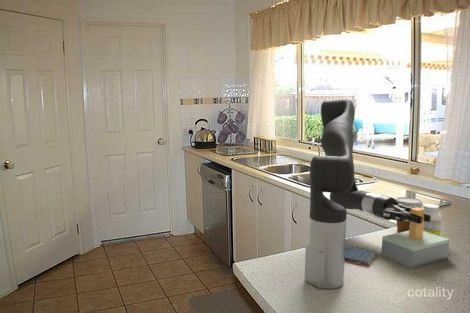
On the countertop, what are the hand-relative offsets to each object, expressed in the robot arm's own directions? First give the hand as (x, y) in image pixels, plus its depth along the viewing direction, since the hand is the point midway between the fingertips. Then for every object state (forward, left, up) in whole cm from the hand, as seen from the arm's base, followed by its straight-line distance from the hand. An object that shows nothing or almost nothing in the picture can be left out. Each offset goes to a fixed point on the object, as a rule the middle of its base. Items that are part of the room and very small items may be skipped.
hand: (425, 219), depth 115 cm
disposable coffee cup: (+18, +20, -13) cm, 30 cm away
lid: (0, +3, -9) cm, 9 cm away
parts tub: (0, +3, -13) cm, 13 cm away
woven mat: (-16, +11, -13) cm, 23 cm away
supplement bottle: (+15, +9, -13) cm, 22 cm away
